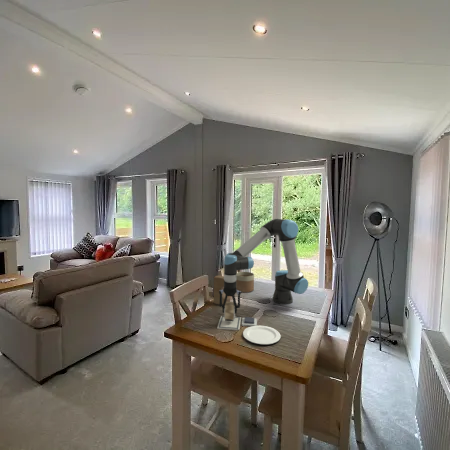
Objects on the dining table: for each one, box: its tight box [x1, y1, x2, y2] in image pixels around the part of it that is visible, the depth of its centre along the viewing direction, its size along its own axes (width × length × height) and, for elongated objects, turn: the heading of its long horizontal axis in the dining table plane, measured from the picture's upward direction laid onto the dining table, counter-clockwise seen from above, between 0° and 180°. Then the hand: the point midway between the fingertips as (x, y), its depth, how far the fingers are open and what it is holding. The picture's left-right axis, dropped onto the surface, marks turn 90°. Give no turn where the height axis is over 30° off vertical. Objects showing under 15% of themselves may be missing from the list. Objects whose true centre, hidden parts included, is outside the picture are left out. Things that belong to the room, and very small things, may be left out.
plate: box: [242, 325, 282, 346], centre depth 146 cm, size 21×21×2 cm
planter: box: [236, 271, 255, 293], centre depth 224 cm, size 16×16×14 cm
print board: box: [216, 315, 242, 331], centre depth 161 cm, size 13×16×1 cm
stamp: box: [225, 301, 234, 321], centre depth 160 cm, size 5×5×10 cm
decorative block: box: [213, 274, 231, 305], centre depth 192 cm, size 11×6×20 cm, turn 62°
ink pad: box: [241, 316, 258, 327], centre depth 162 cm, size 9×9×2 cm
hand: (229, 317), depth 161 cm, fingers closed on stamp, 5 cm apart
